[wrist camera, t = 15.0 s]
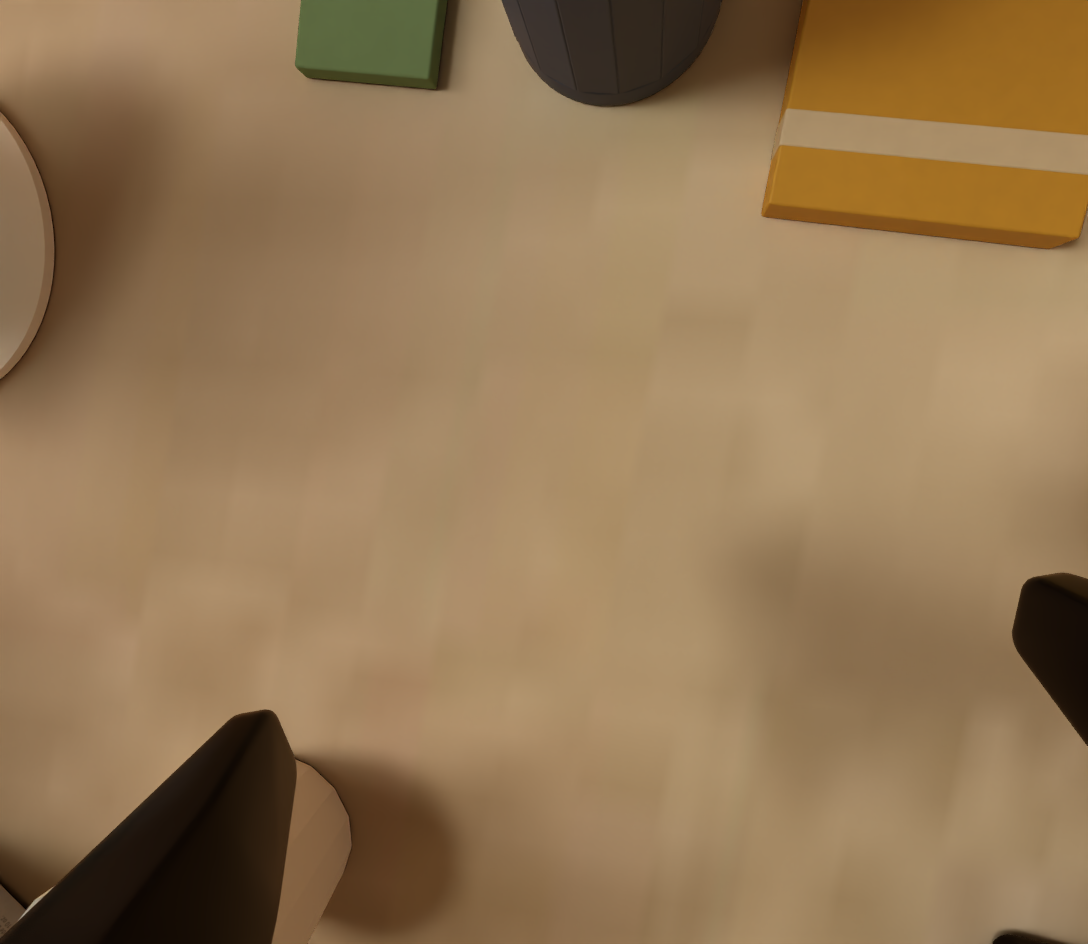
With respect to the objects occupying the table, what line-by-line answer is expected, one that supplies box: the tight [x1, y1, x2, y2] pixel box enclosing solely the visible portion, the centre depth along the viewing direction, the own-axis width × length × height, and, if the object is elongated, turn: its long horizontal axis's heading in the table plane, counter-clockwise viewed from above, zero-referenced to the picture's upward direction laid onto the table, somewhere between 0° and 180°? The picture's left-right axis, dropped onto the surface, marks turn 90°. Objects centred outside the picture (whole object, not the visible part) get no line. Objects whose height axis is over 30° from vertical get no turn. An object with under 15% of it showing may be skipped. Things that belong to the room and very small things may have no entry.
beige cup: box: [18, 759, 352, 944], centre depth 19 cm, size 7×7×7 cm
